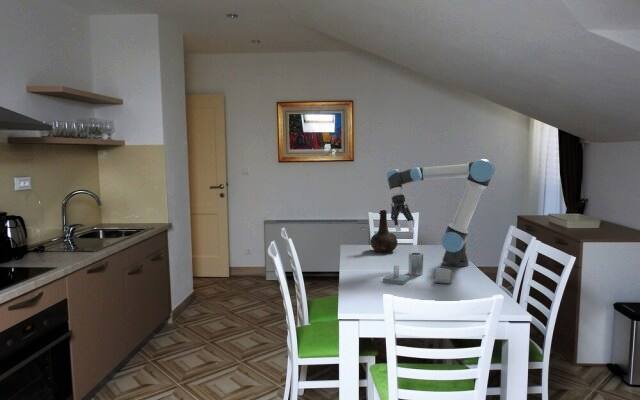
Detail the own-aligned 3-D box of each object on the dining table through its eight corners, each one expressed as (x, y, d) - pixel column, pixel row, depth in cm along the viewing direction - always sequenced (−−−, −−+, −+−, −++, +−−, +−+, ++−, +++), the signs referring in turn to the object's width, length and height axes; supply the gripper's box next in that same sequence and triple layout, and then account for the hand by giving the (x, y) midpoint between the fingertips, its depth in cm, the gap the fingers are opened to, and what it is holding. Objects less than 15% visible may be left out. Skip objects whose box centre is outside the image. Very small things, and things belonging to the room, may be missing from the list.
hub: (423, 272, 251) (424, 253, 249) (420, 275, 244) (420, 255, 243) (411, 271, 254) (411, 252, 253) (407, 274, 248) (407, 254, 246)
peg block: (410, 279, 238) (410, 264, 237) (403, 284, 228) (403, 269, 227) (389, 276, 243) (390, 262, 242) (382, 282, 233) (382, 266, 232)
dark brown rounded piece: (401, 253, 299) (401, 211, 296) (375, 255, 295) (376, 212, 292) (391, 248, 316) (391, 208, 314) (366, 249, 312) (366, 209, 310)
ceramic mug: (451, 285, 227) (452, 270, 226) (435, 284, 229) (435, 269, 228) (451, 280, 237) (452, 265, 236) (435, 279, 239) (435, 264, 238)
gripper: (403, 199, 275) (411, 233, 270) (380, 196, 257) (387, 232, 252) (414, 195, 271) (422, 230, 265) (390, 192, 252) (398, 229, 247)
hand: (405, 231), depth 258 cm, fingers open, 13 cm apart
